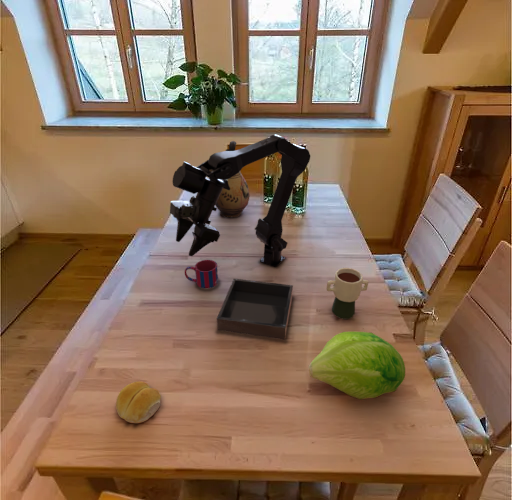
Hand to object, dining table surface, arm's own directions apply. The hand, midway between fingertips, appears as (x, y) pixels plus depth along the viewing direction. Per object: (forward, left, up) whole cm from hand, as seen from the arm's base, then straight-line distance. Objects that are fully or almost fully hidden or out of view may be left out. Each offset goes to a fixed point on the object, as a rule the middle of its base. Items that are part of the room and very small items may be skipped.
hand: (183, 248), depth 100 cm
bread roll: (+35, +18, -15) cm, 42 cm away
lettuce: (+6, +53, -15) cm, 56 cm away
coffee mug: (-15, +43, -15) cm, 48 cm away
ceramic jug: (-52, -21, -15) cm, 58 cm away
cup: (-5, +2, -15) cm, 16 cm away
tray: (-2, +24, -15) cm, 28 cm away
